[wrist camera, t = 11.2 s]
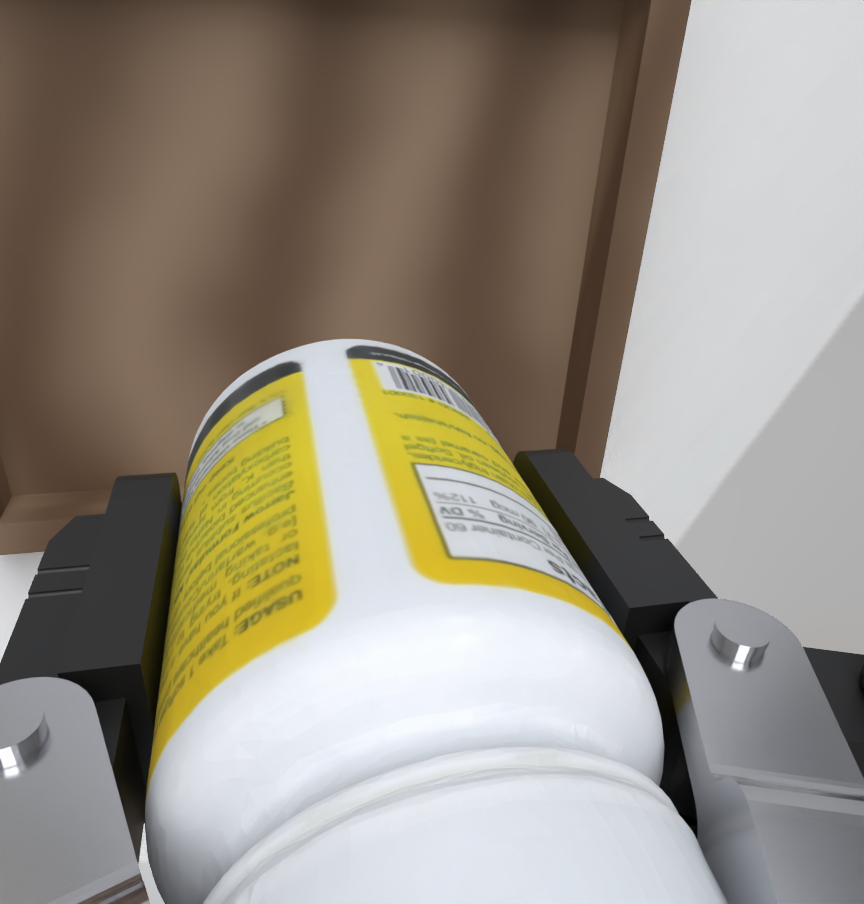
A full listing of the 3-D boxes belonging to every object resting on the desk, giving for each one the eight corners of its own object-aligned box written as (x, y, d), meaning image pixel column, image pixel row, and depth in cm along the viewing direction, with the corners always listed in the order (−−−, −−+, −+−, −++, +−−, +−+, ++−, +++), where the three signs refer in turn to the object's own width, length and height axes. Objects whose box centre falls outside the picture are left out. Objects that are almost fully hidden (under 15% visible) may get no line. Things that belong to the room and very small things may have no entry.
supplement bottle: (223, 607, 12) (192, 1361, 5) (152, 356, 10) (-73, 1111, 3) (489, 556, 13) (770, 1157, 6) (481, 310, 11) (930, 827, 4)
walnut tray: (657, -47, 21) (702, -57, 19) (570, 473, 30) (594, 505, 28) (-203, -130, 17) (-269, -154, 15) (-12, 514, 25) (-35, 557, 23)
